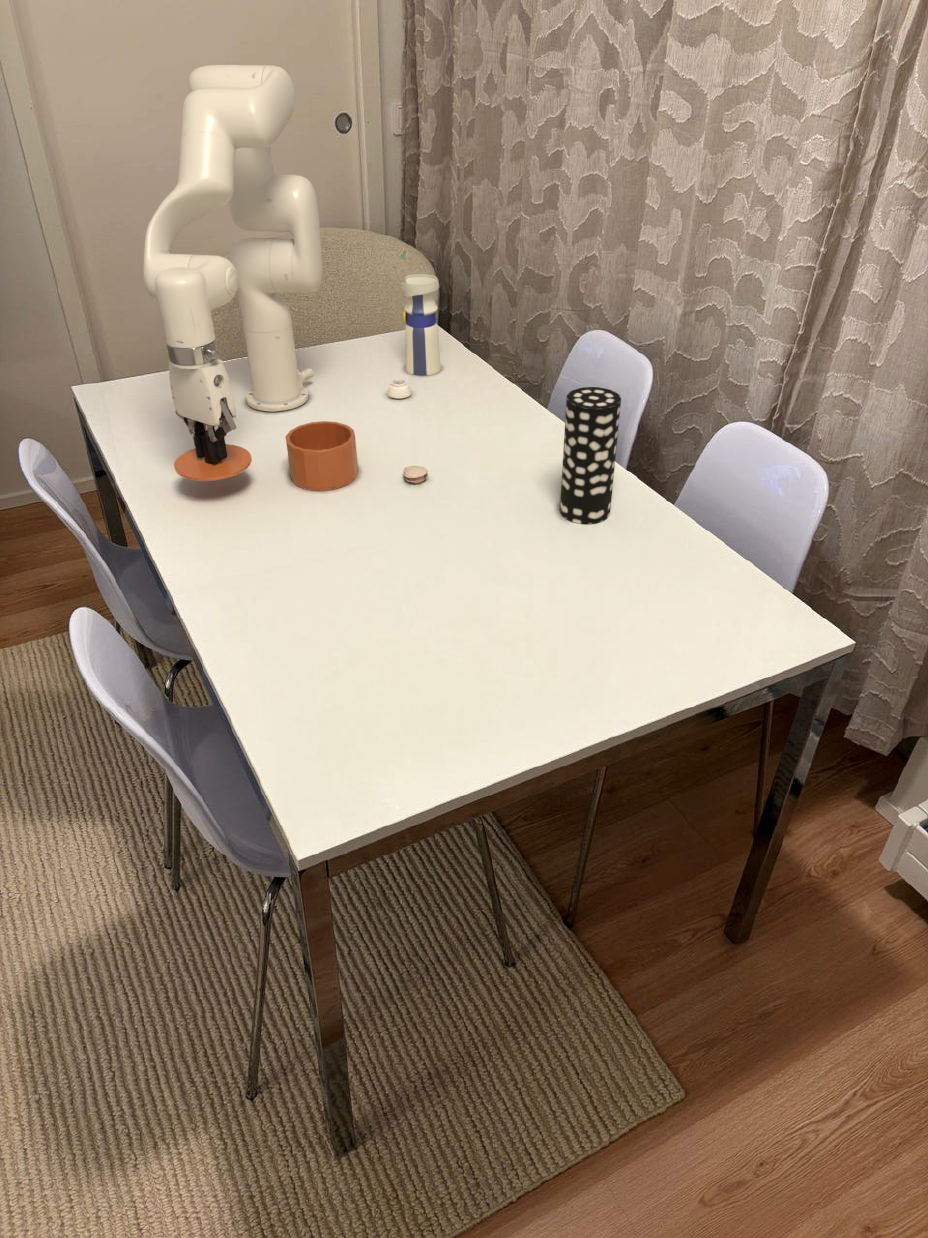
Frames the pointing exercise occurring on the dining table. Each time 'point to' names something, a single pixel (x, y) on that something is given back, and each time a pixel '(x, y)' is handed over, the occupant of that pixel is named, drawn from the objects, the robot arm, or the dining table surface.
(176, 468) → the lid
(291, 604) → the dining table surface
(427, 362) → the water bottle
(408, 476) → the macaroon
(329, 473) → the orange hollow cylinder
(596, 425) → the white-spotted black cylinder
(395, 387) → the white jar
